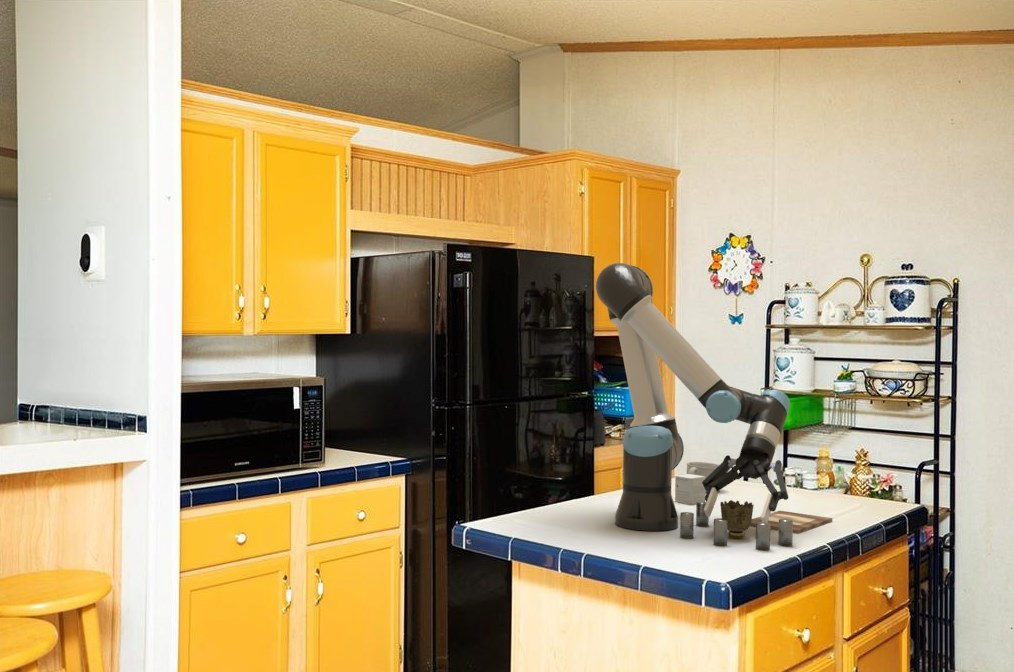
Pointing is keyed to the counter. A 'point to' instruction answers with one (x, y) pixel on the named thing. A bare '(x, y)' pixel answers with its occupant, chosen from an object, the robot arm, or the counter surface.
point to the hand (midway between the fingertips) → (734, 517)
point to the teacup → (701, 468)
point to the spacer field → (722, 525)
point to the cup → (737, 517)
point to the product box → (689, 489)
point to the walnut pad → (794, 520)
